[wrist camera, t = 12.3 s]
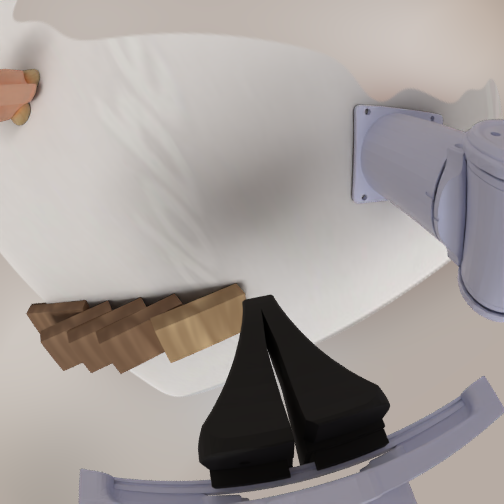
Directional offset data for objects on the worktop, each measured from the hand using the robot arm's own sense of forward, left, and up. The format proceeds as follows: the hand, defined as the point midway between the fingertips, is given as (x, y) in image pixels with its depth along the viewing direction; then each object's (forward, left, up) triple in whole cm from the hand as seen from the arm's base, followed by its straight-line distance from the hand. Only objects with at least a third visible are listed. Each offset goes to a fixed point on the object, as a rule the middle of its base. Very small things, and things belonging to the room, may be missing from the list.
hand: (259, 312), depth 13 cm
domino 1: (+15, +8, -10) cm, 20 cm away
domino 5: (0, +8, -9) cm, 12 cm away
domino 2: (+13, +8, -9) cm, 18 cm away
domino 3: (+9, +8, -9) cm, 15 cm away
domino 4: (+6, +8, -9) cm, 14 cm away
